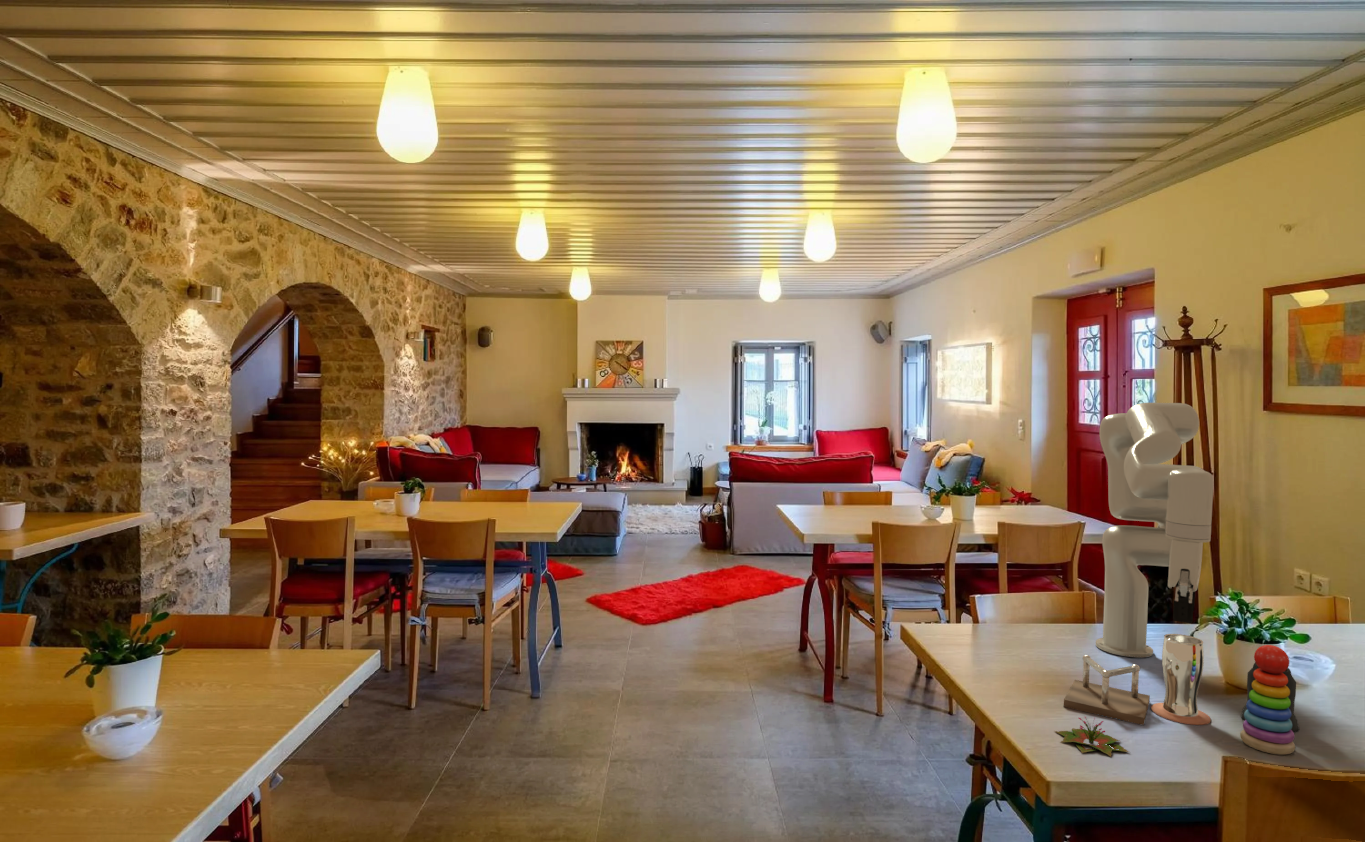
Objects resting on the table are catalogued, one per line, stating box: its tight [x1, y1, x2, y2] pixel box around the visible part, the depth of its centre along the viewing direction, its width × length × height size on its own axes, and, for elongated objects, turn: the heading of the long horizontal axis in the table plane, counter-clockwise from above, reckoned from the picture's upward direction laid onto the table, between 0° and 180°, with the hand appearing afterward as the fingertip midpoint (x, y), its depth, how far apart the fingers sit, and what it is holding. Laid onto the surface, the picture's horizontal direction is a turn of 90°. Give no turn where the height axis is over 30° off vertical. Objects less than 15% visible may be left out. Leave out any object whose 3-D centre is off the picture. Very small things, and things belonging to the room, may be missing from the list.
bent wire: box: [1082, 654, 1141, 705], centre depth 155 cm, size 10×11×7 cm
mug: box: [1240, 661, 1300, 734], centre depth 149 cm, size 12×9×11 cm
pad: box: [1150, 702, 1211, 726], centre depth 151 cm, size 10×10×1 cm
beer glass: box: [1161, 633, 1205, 719], centre depth 151 cm, size 7×7×15 cm
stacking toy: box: [1239, 644, 1296, 756], centre depth 137 cm, size 8×8×19 cm
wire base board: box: [1063, 679, 1151, 726], centre depth 155 cm, size 14×14×2 cm
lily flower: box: [1054, 716, 1130, 757], centre depth 137 cm, size 12×12×5 cm
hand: (1183, 615), depth 151 cm, fingers open, 9 cm apart
